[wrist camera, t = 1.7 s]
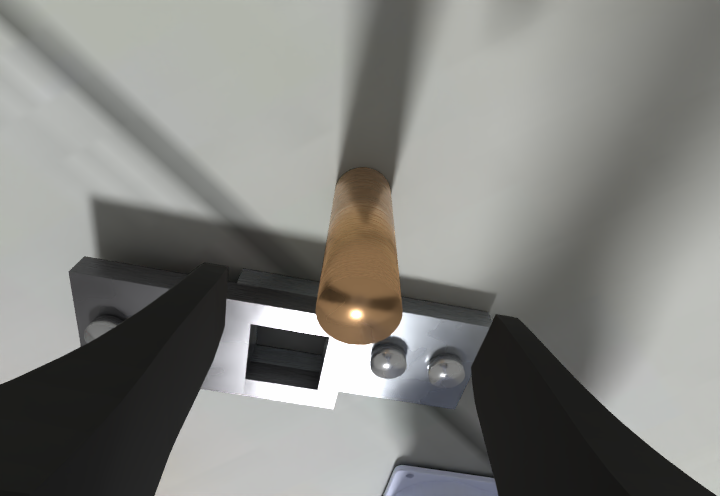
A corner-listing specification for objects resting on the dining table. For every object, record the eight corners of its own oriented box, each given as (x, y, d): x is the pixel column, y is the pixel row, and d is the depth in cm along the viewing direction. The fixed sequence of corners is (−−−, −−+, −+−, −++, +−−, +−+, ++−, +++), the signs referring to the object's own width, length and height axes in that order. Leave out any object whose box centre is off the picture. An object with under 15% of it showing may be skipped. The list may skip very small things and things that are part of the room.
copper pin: (396, 173, 19) (412, 286, 12) (383, 223, 20) (390, 351, 13) (340, 162, 18) (322, 269, 11) (330, 212, 20) (309, 337, 13)
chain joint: (488, 312, 22) (503, 355, 20) (451, 392, 25) (460, 438, 23) (98, 242, 21) (60, 279, 18) (110, 337, 24) (78, 380, 21)
